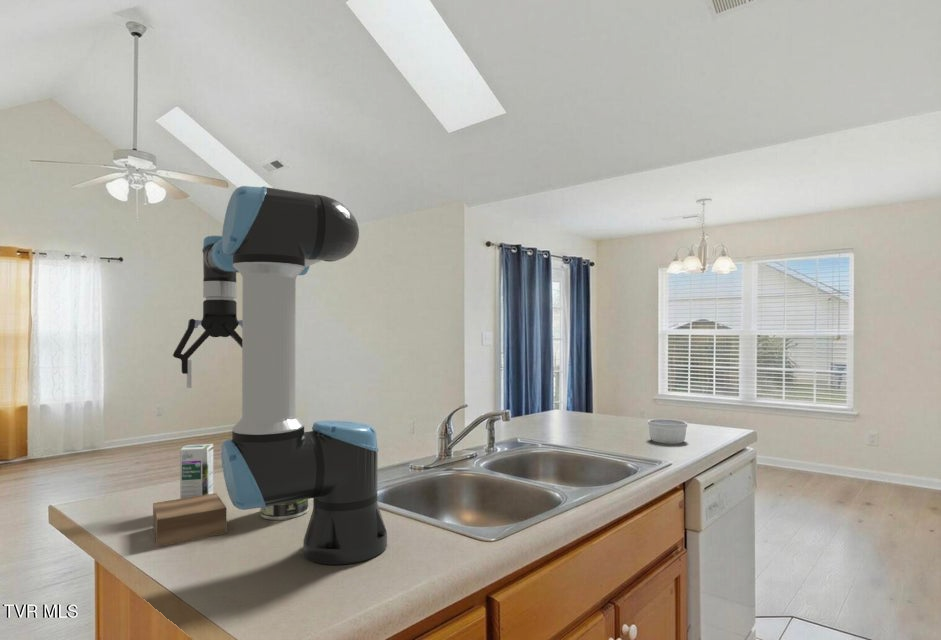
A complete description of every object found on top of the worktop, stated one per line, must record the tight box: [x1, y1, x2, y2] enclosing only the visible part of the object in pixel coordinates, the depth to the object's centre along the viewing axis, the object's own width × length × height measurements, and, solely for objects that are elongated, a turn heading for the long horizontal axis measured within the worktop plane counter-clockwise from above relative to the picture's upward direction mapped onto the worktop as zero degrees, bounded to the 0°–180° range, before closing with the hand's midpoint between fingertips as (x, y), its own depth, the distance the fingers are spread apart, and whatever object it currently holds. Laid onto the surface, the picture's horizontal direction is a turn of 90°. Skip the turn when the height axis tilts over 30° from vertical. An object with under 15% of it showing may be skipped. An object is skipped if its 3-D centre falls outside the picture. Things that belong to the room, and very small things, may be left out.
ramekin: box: [647, 418, 688, 445], centre depth 194 cm, size 13×13×7 cm
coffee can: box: [260, 499, 310, 521], centre depth 121 cm, size 10×10×14 cm
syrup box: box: [179, 443, 214, 499], centre depth 123 cm, size 6×6×14 cm
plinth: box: [152, 492, 227, 547], centre depth 110 cm, size 12×12×5 cm
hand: (219, 385), depth 133 cm, fingers open, 13 cm apart
